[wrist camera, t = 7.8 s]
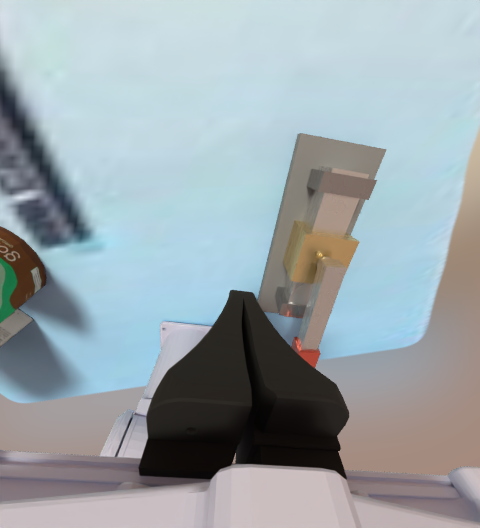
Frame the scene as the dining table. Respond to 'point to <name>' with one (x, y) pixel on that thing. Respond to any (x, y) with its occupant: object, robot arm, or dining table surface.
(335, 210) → the pipe and valve
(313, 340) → the valve lever
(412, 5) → the dining table surface
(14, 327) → the coffee box
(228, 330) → the robot arm
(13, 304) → the food container
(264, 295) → the board
